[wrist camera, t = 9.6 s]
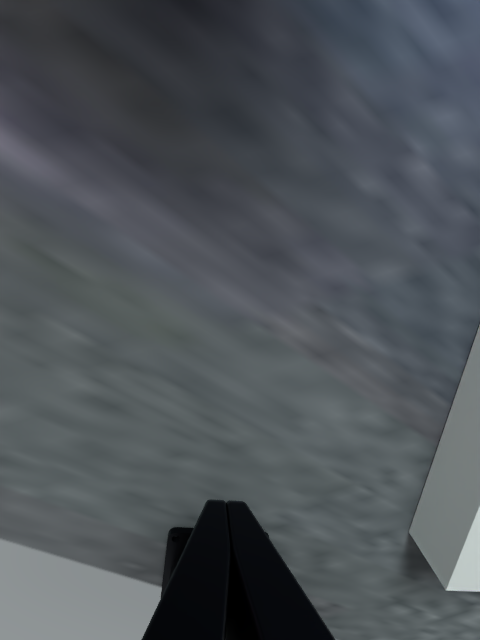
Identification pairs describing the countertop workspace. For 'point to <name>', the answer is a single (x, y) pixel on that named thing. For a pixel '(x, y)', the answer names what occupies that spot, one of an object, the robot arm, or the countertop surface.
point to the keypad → (455, 490)
